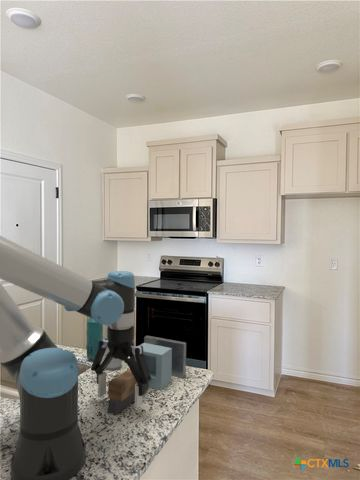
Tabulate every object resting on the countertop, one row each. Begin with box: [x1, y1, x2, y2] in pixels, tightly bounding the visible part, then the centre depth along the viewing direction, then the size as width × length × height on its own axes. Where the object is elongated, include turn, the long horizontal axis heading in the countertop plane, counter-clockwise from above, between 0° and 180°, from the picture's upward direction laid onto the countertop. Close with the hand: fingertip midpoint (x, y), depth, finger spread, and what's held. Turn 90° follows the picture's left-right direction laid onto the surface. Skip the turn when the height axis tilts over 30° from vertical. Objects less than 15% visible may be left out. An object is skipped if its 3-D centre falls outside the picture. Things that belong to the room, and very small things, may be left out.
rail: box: [107, 382, 150, 416], centre depth 100 cm, size 17×3×4 cm, turn 154°
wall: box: [143, 335, 187, 379], centre depth 119 cm, size 2×16×12 cm, turn 64°
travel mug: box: [103, 325, 123, 371], centre depth 123 cm, size 6×7×20 cm
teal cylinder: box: [85, 317, 104, 359], centre depth 130 cm, size 6×7×20 cm
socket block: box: [133, 342, 172, 391], centre depth 111 cm, size 7×11×11 cm, turn 64°
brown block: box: [107, 368, 137, 402], centre depth 99 cm, size 14×4×4 cm, turn 154°
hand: (119, 400), depth 95 cm, fingers open, 12 cm apart
